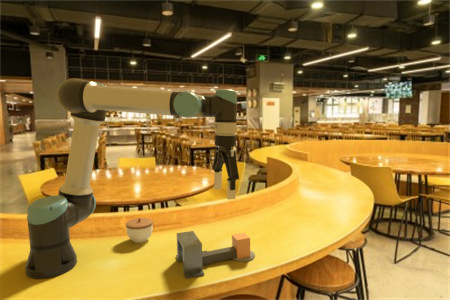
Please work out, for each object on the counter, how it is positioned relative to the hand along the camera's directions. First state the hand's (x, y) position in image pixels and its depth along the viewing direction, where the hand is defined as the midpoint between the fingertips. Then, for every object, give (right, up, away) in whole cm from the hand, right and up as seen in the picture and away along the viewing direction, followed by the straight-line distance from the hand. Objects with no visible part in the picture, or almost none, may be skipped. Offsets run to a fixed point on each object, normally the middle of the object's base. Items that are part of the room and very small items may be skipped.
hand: (224, 193), depth 106 cm
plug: (0, -23, 0) cm, 23 cm away
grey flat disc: (+7, -23, +3) cm, 24 cm away
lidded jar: (-35, -22, +17) cm, 45 cm away
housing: (-12, -24, -4) cm, 27 cm away
